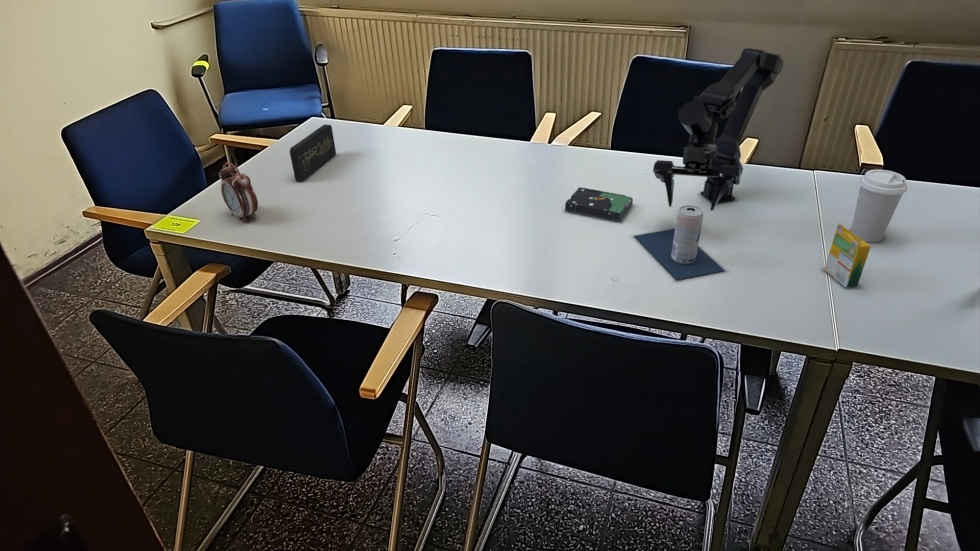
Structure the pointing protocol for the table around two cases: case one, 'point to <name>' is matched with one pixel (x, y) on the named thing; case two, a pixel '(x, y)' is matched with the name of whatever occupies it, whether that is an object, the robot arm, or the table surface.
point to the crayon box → (847, 257)
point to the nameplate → (312, 152)
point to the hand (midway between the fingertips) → (690, 208)
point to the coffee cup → (877, 203)
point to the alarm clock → (238, 192)
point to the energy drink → (687, 234)
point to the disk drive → (599, 204)
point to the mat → (662, 250)
